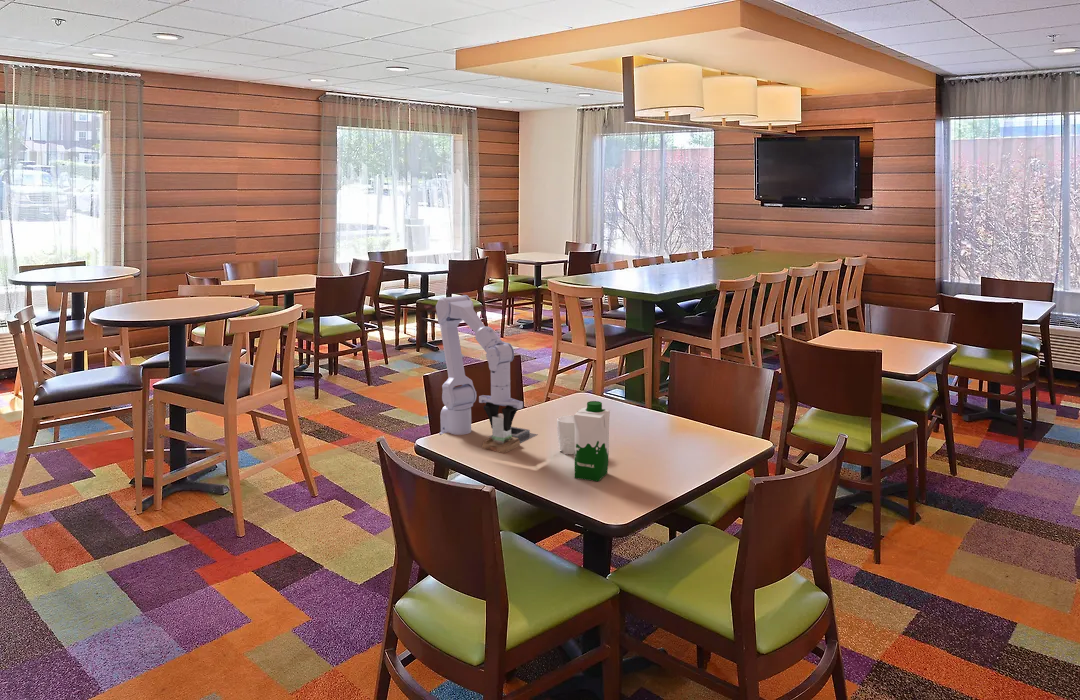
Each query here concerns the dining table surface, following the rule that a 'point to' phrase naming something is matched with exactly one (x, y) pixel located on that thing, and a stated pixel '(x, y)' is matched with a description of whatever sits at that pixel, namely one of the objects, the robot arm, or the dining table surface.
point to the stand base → (521, 434)
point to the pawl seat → (501, 445)
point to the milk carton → (591, 441)
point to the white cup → (566, 434)
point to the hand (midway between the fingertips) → (501, 428)
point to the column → (500, 430)
